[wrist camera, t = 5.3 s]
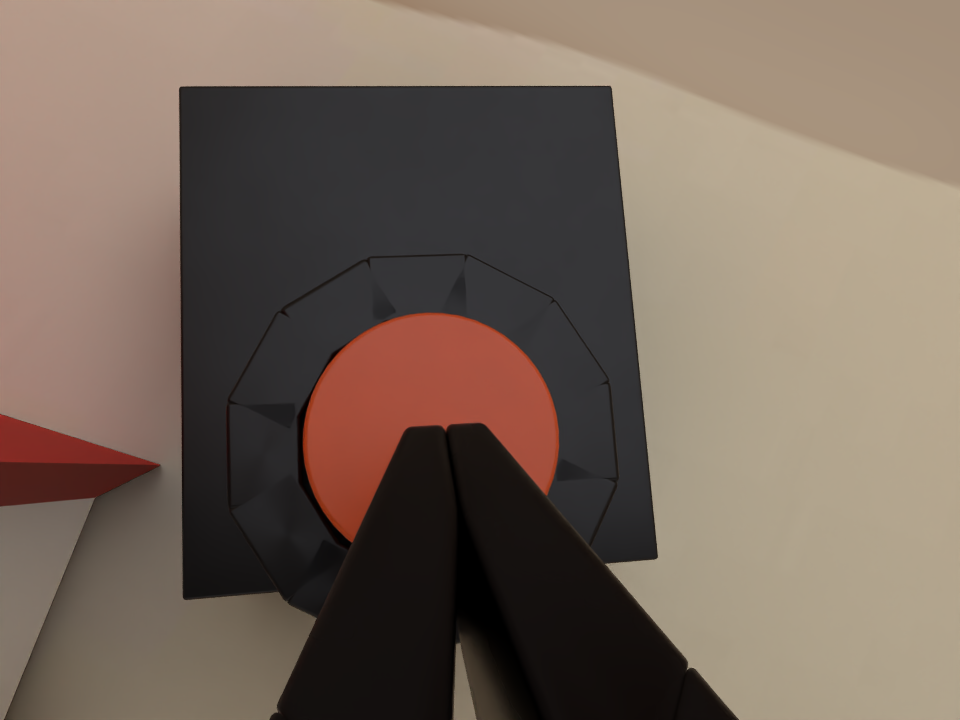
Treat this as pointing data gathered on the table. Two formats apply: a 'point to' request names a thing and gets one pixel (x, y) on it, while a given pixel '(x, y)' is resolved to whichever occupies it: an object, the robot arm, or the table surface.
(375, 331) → the button
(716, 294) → the table surface
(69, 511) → the book
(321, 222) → the button base
